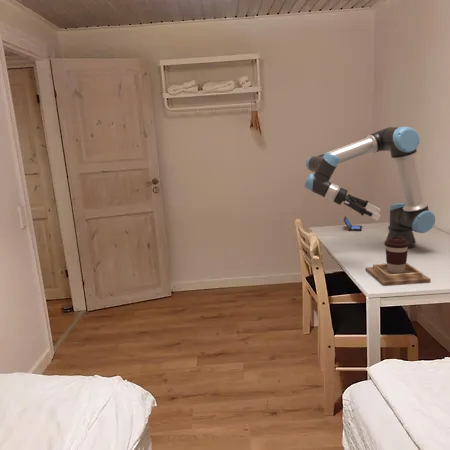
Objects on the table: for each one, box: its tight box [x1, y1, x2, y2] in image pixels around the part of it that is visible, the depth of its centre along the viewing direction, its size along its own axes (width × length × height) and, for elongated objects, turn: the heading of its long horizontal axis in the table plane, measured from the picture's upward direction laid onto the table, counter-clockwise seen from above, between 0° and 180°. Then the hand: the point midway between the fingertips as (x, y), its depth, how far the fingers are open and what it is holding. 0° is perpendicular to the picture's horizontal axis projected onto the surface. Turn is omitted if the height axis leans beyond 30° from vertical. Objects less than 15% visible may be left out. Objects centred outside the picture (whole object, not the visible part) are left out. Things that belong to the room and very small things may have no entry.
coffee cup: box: [384, 237, 409, 274], centre depth 191 cm, size 10×10×15 cm
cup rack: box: [365, 262, 432, 287], centre depth 191 cm, size 20×20×4 cm
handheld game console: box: [343, 216, 363, 232], centre depth 278 cm, size 12×11×7 cm
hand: (379, 214), depth 199 cm, fingers open, 13 cm apart
